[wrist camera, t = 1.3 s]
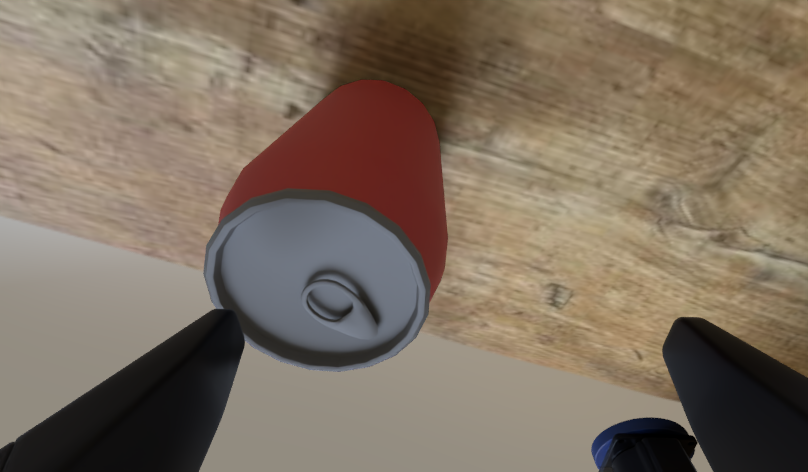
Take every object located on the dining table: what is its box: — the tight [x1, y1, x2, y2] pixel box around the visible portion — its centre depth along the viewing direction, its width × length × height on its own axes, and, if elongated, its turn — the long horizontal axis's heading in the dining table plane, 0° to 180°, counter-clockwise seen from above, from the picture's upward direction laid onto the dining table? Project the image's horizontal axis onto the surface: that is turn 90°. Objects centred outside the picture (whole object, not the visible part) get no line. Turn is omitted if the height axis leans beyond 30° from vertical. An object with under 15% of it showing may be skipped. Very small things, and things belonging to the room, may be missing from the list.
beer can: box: [204, 80, 448, 372], centre depth 14 cm, size 7×7×12 cm
